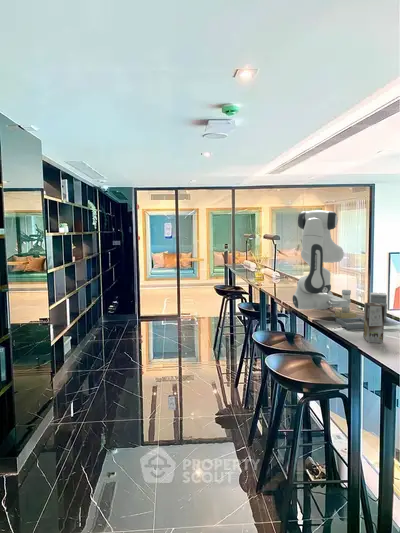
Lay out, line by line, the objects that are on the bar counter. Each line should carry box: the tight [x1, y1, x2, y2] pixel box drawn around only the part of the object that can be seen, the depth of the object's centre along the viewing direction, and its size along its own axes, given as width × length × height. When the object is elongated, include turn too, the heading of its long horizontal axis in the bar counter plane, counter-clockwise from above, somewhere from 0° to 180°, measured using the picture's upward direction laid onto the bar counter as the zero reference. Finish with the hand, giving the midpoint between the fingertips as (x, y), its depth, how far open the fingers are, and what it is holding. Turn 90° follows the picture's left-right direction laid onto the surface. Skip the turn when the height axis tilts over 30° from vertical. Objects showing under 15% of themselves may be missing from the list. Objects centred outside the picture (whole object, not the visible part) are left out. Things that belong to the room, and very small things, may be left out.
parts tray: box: [335, 317, 364, 331], centre depth 199 cm, size 12×14×3 cm
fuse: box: [341, 289, 352, 313], centre depth 213 cm, size 4×4×14 cm
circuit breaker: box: [369, 292, 388, 322], centre depth 206 cm, size 8×14×15 cm, turn 158°
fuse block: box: [330, 309, 359, 319], centre depth 214 cm, size 12×12×4 cm
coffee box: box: [363, 302, 385, 344], centre depth 174 cm, size 9×6×16 cm
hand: (347, 300), depth 213 cm, fingers closed on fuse, 4 cm apart
